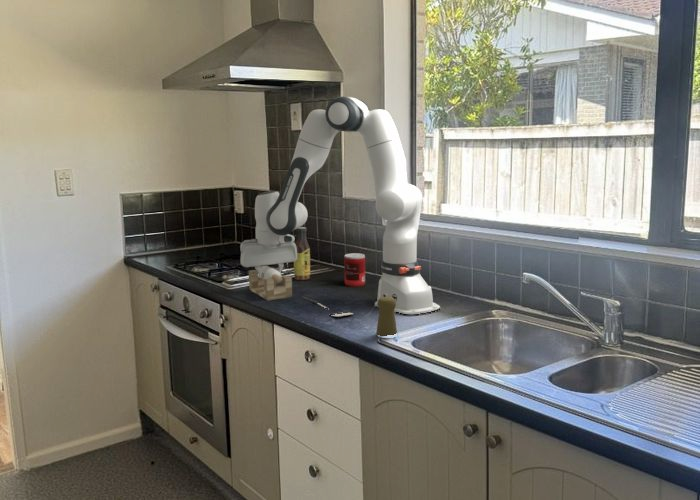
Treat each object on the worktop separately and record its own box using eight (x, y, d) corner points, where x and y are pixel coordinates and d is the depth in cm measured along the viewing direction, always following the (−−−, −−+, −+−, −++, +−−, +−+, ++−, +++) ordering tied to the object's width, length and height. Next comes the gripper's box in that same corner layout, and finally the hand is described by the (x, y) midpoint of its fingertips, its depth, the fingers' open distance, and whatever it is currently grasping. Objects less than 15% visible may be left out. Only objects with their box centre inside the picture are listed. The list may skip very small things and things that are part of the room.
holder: (292, 297, 231) (291, 277, 230) (267, 300, 227) (267, 280, 225) (272, 286, 246) (271, 267, 245) (249, 289, 242) (248, 270, 241)
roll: (285, 285, 230) (284, 271, 229) (272, 287, 228) (271, 273, 227) (268, 276, 244) (267, 262, 243) (255, 278, 241) (254, 264, 240)
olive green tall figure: (398, 338, 186) (399, 300, 184) (377, 339, 186) (377, 300, 184) (395, 331, 192) (395, 294, 190) (374, 332, 192) (374, 295, 190)
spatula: (337, 321, 205) (337, 316, 204) (295, 299, 230) (295, 295, 229) (354, 318, 208) (354, 313, 207) (311, 297, 233) (311, 293, 232)
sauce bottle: (307, 281, 254) (306, 229, 250) (292, 280, 255) (290, 228, 251) (312, 277, 260) (311, 226, 256) (296, 276, 261) (295, 226, 258)
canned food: (361, 281, 253) (361, 252, 251) (368, 285, 246) (368, 256, 244) (341, 282, 251) (341, 253, 249) (348, 287, 243) (348, 258, 241)
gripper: (243, 242, 225) (244, 282, 228) (298, 236, 235) (299, 275, 237) (236, 239, 231) (238, 278, 233) (291, 234, 240) (292, 271, 243)
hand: (269, 276), depth 235 cm, fingers closed on roll, 5 cm apart
